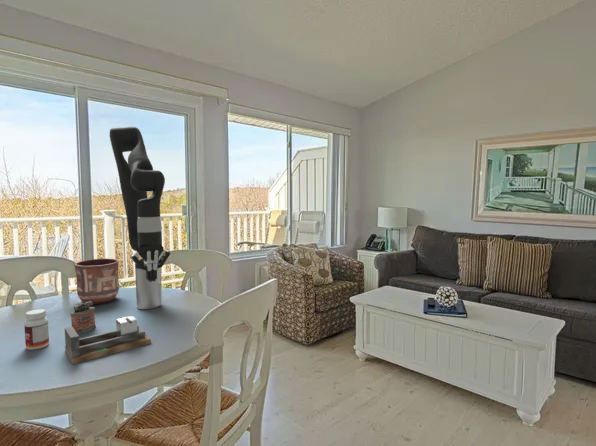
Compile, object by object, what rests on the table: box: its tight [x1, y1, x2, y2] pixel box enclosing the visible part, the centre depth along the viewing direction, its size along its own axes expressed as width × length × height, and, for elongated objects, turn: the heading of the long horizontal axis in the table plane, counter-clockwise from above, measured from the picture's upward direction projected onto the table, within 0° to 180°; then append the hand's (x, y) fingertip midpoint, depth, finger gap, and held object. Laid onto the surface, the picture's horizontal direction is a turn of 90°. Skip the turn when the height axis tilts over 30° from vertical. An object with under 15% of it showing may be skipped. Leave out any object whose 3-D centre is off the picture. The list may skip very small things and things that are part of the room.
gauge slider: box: [115, 315, 138, 337], centre depth 119 cm, size 5×7×6 cm
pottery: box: [74, 258, 120, 306], centre depth 165 cm, size 18×18×18 cm
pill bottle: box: [23, 308, 50, 350], centre depth 117 cm, size 6×6×11 cm
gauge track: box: [64, 324, 152, 365], centre depth 116 cm, size 22×12×8 cm, turn 131°
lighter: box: [69, 301, 97, 335], centre depth 130 cm, size 8×3×10 cm, turn 148°
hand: (151, 281), depth 124 cm, fingers closed
